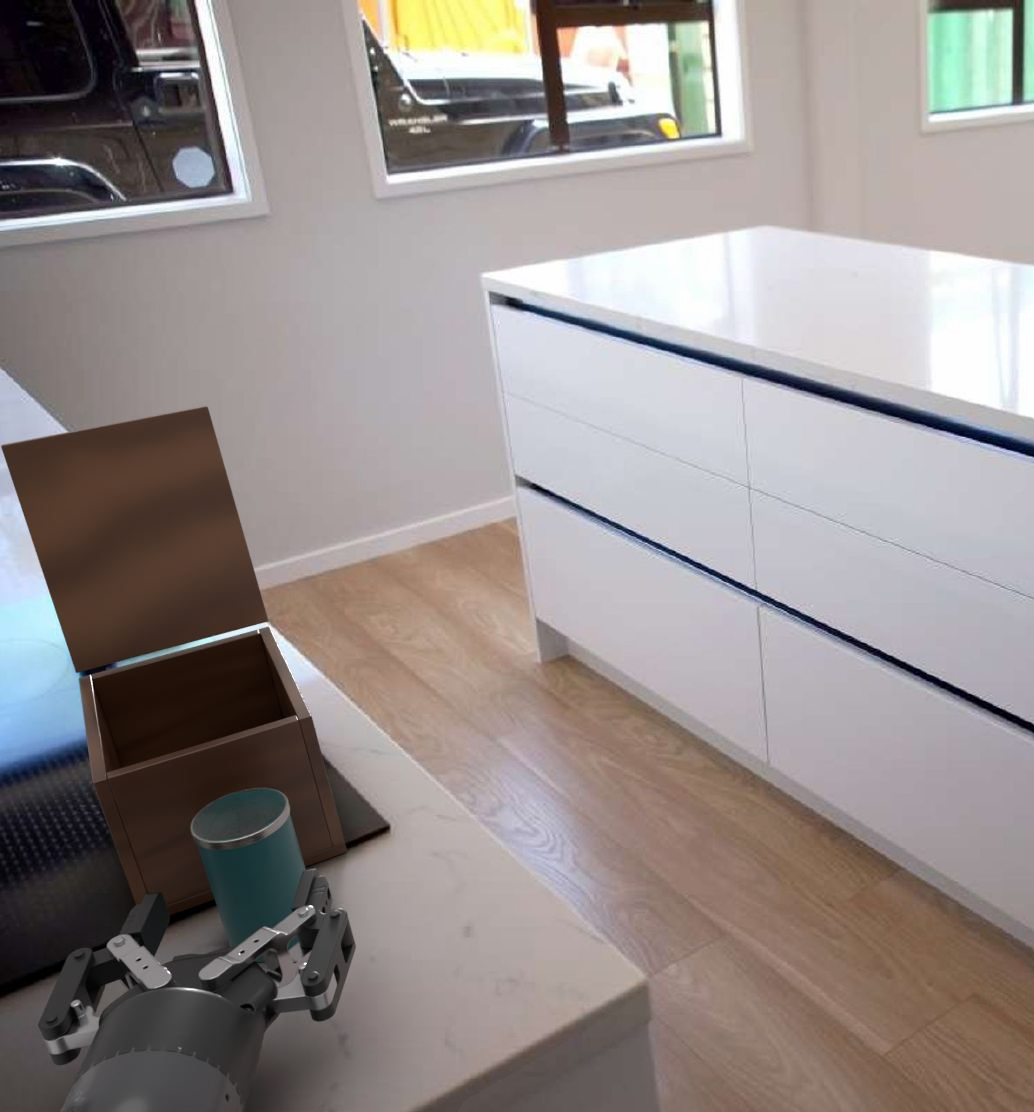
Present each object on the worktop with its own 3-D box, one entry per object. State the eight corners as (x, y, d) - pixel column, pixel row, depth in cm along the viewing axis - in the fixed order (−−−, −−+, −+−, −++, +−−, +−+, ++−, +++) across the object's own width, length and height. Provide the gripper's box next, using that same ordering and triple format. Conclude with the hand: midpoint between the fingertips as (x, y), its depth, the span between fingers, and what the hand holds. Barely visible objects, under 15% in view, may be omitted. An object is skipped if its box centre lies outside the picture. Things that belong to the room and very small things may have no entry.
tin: (257, 976, 75) (218, 853, 71) (212, 940, 78) (172, 821, 75) (338, 925, 79) (305, 806, 75) (292, 893, 82) (258, 777, 78)
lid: (207, 406, 89) (206, 405, 89) (0, 445, 83) (1, 444, 83) (268, 621, 93) (267, 619, 94) (76, 673, 87) (76, 670, 88)
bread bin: (347, 852, 86) (311, 715, 81) (143, 925, 80) (92, 782, 75) (302, 749, 98) (269, 625, 94) (122, 806, 92) (78, 677, 88)
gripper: (295, 1028, 58) (351, 820, 72) (-42, 1086, 56) (86, 859, 70) (330, 1145, 61) (378, 923, 76) (13, 1204, 59) (124, 963, 73)
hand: (237, 892), depth 73 cm, fingers open, 8 cm apart
